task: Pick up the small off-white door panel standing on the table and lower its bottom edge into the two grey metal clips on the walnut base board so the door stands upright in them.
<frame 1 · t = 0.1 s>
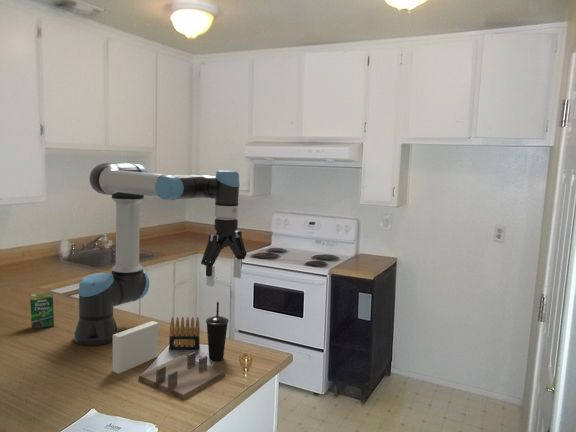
hand: (224, 281, 152), 28 cm above the countertop, tool pointing down, fingers open, 13 cm apart
door panel: (136, 363, 151), on the countertop
drinking cup: (216, 358, 157), on the countertop
clip board: (182, 377, 142), on the countertop
ammunition clip: (184, 349, 164), on the countertop
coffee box: (42, 327, 177), on the countertop
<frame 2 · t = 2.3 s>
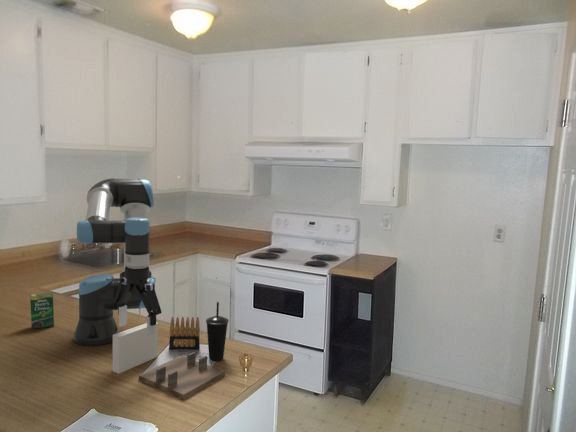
hand: (136, 330, 149), 12 cm above the countertop, tool pointing down, fingers open, 13 cm apart
nothing on the countertop moved.
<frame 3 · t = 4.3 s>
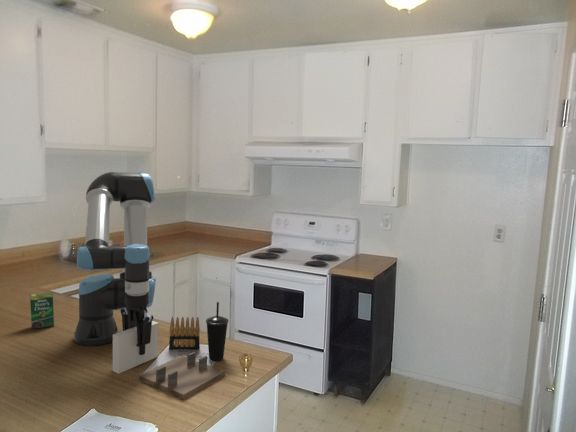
hand: (136, 361, 150), 1 cm above the countertop, tool pointing down, fingers closed on door panel, 3 cm apart
door panel: (136, 363, 151), on the countertop, touching gripper
everything else where it was.
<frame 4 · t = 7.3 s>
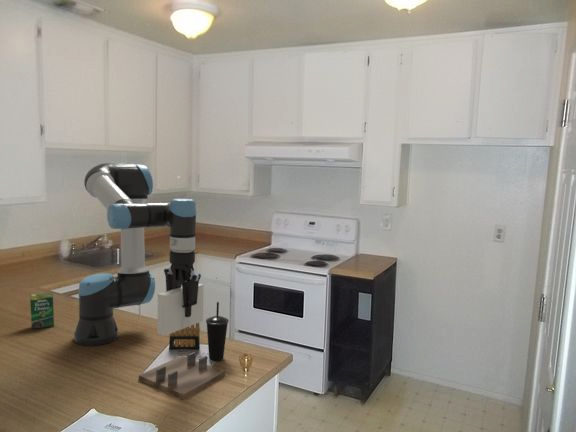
hand: (181, 325, 140), 17 cm above the countertop, tool pointing down, fingers closed on door panel, 3 cm apart
door panel: (181, 327, 140), point 16 cm above the countertop, touching gripper
everything else where it was.
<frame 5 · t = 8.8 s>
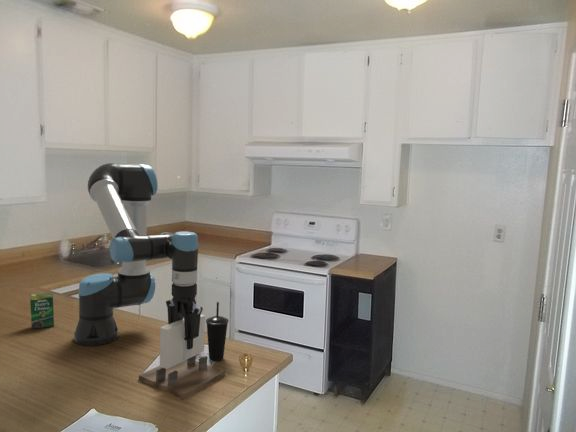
hand: (182, 356, 141), 7 cm above the countertop, tool pointing down, fingers closed on door panel, 3 cm apart
door panel: (182, 358, 141), point 6 cm above the countertop, touching gripper
everything else where it was.
when the fingers open (3 cm above the countertop, at t = 10.1 s): door panel stays where it is, resting on clip board.
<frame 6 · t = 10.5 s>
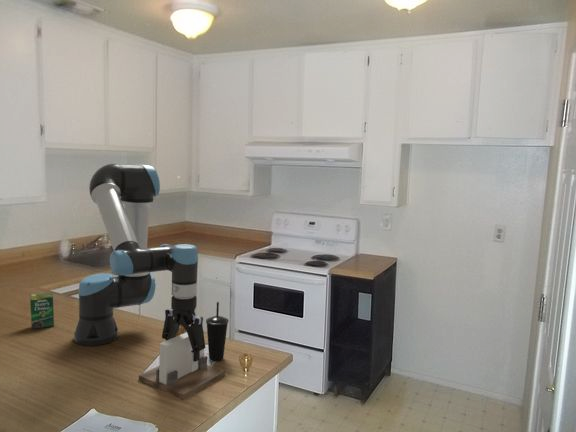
hand: (182, 365, 142), 4 cm above the countertop, tool pointing down, fingers open, 9 cm apart
door panel: (182, 373, 142), point 1 cm above the countertop, touching clip board
everything else where it was.
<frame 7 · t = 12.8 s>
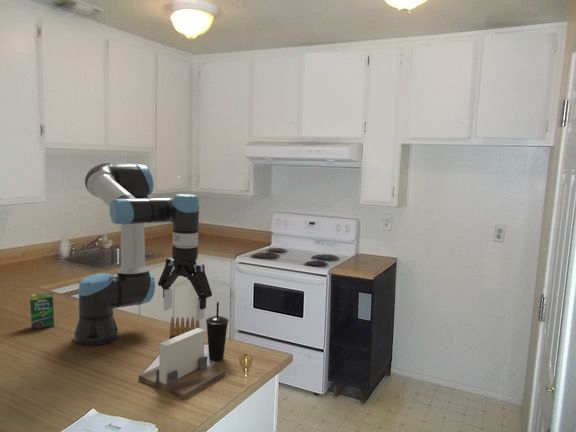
hand: (183, 314, 140), 21 cm above the countertop, tool pointing down, fingers open, 13 cm apart
nothing on the countertop moved.
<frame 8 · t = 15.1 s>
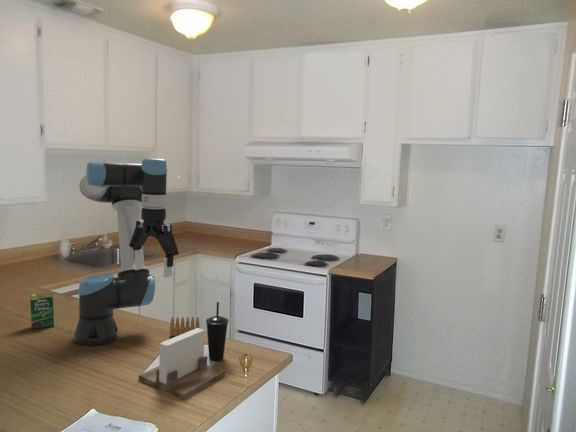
hand: (152, 273, 147), 31 cm above the countertop, tool pointing down, fingers open, 13 cm apart
nothing on the countertop moved.
at the end: door panel 0.1 cm off-centre on the clip board, point 1.5 cm above the clip board's base; door panel tilted 0°; the gripper is holding nothing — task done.
